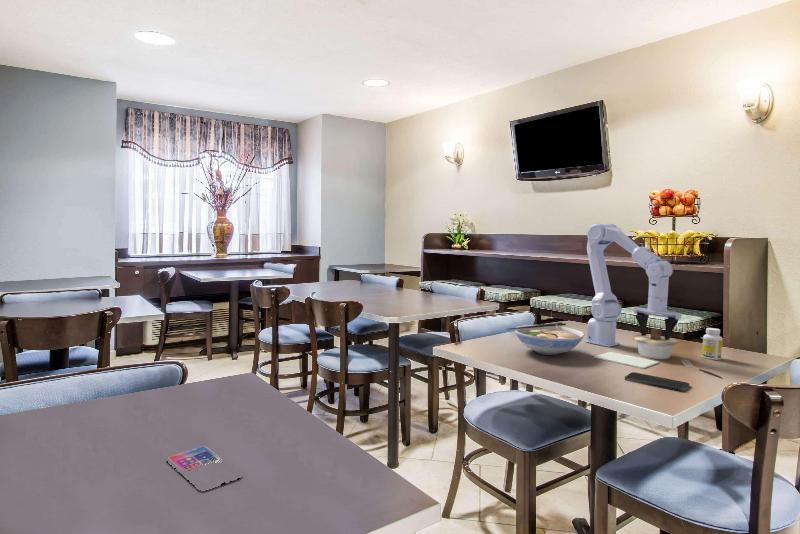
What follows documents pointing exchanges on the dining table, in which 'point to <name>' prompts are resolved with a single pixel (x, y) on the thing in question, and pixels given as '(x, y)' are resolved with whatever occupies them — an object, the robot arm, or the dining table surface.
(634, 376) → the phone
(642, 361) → the mat
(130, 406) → the dining table surface
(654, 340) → the lid
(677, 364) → the dining table surface
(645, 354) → the ramekin
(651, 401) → the dining table surface
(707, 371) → the fork
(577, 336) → the ramen bowl
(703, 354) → the supplement bottle
